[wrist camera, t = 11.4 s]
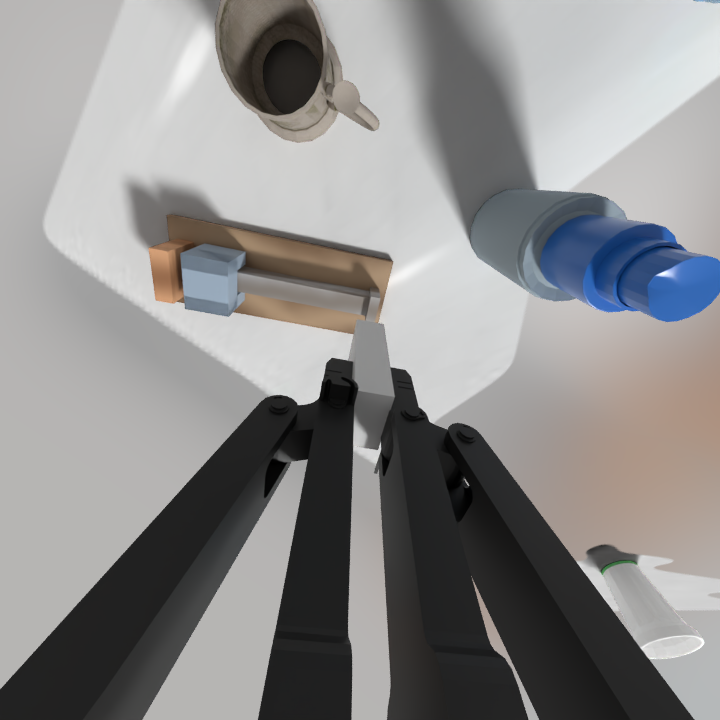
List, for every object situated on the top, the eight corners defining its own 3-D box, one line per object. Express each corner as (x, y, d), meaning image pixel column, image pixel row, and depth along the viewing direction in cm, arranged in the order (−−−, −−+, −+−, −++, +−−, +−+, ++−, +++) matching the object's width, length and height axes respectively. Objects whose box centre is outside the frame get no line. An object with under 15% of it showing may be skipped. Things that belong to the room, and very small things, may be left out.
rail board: (171, 214, 38) (135, 220, 32) (392, 260, 41) (397, 274, 35) (179, 299, 44) (149, 318, 38) (374, 335, 46) (375, 358, 40)
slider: (204, 243, 39) (180, 253, 33) (245, 251, 39) (227, 262, 34) (207, 292, 42) (185, 308, 37) (244, 299, 42) (228, 316, 37)
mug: (234, 107, 33) (175, 73, 23) (267, -11, 29) (214, -119, 18) (353, 184, 37) (349, 186, 26) (399, 89, 32) (416, 46, 22)
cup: (585, 581, 82) (629, 659, 69) (603, 555, 76) (654, 635, 62) (633, 581, 82) (686, 659, 68) (655, 555, 76) (717, 635, 62)
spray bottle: (559, 208, 38) (825, 246, 16) (514, 276, 42) (677, 379, 20) (497, 175, 36) (700, 169, 14) (456, 249, 40) (567, 331, 19)
